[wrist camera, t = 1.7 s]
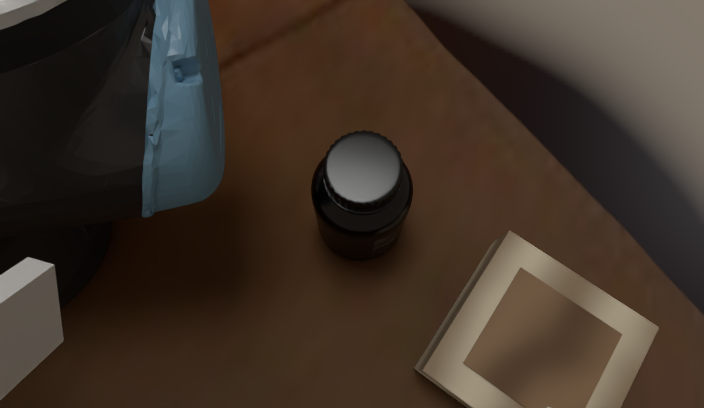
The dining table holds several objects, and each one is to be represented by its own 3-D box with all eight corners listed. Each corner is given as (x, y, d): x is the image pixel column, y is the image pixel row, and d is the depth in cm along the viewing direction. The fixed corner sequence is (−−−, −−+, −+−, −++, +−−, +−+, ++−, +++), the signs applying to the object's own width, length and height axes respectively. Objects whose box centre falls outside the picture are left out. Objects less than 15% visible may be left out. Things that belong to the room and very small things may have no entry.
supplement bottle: (393, 179, 39) (413, 108, 28) (406, 256, 37) (434, 215, 26) (313, 188, 39) (301, 121, 27) (322, 267, 37) (313, 230, 25)
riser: (413, 368, 35) (422, 370, 31) (492, 242, 38) (510, 229, 34) (554, 471, 33) (583, 488, 29) (625, 329, 36) (661, 327, 32)
